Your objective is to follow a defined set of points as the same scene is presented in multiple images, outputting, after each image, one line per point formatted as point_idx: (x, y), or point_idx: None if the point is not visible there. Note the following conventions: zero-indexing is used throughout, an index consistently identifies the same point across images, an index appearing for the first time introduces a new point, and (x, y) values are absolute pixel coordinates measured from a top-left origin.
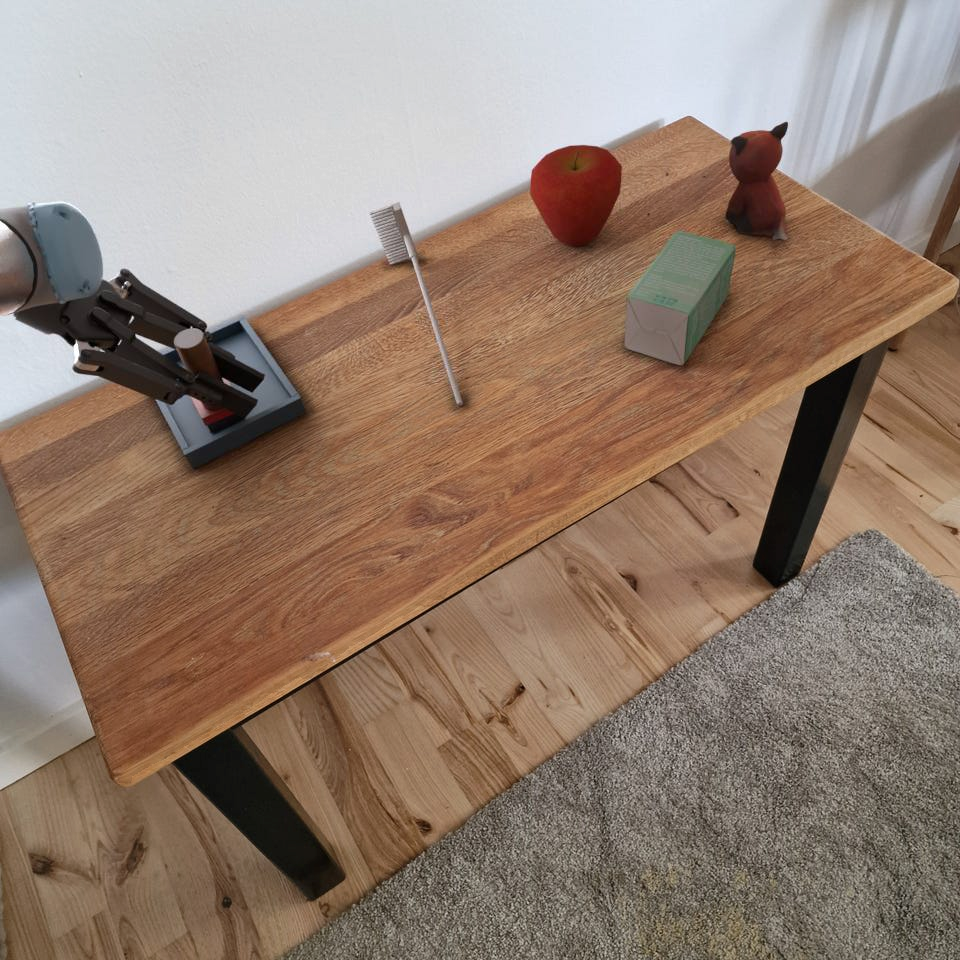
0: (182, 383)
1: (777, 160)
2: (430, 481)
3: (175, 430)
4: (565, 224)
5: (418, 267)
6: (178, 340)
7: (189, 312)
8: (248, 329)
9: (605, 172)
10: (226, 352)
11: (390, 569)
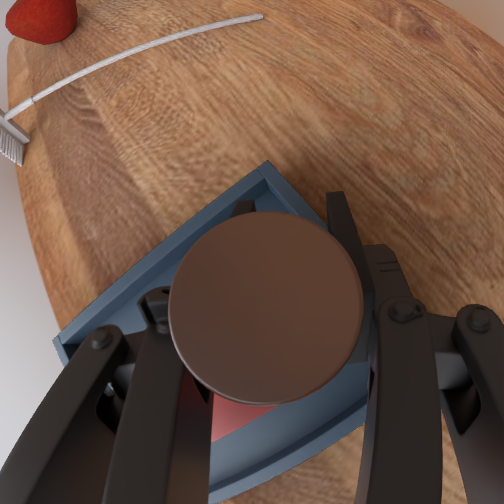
0: (433, 333)
1: None
2: (380, 26)
3: (365, 415)
4: (66, 3)
5: (48, 87)
6: (285, 370)
7: (56, 380)
8: (80, 322)
9: None
10: None
11: (491, 57)
